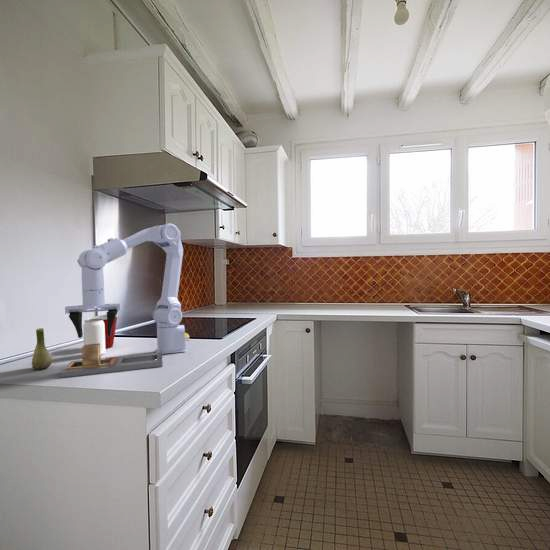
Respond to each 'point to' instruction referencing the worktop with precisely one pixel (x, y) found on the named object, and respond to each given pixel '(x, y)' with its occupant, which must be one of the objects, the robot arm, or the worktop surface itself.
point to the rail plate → (113, 364)
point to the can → (95, 333)
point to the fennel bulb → (41, 352)
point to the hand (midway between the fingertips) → (95, 336)
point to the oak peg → (91, 354)
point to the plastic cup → (108, 339)
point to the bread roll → (186, 336)
